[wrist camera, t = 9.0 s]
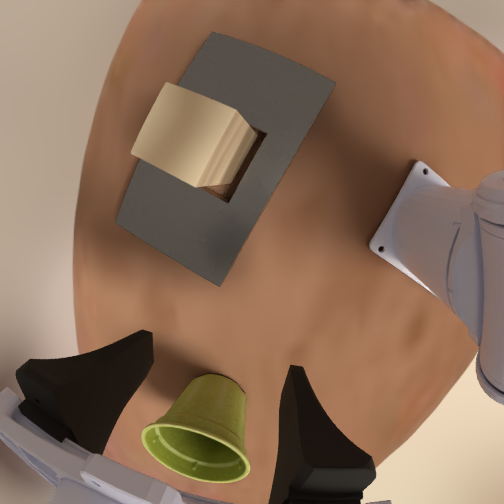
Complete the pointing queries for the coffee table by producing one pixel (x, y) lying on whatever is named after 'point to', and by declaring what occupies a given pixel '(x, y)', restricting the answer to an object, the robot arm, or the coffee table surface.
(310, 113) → the slotted plate
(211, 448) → the plant pot
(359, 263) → the coffee table surface
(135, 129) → the coffee table surface
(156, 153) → the birch peg
